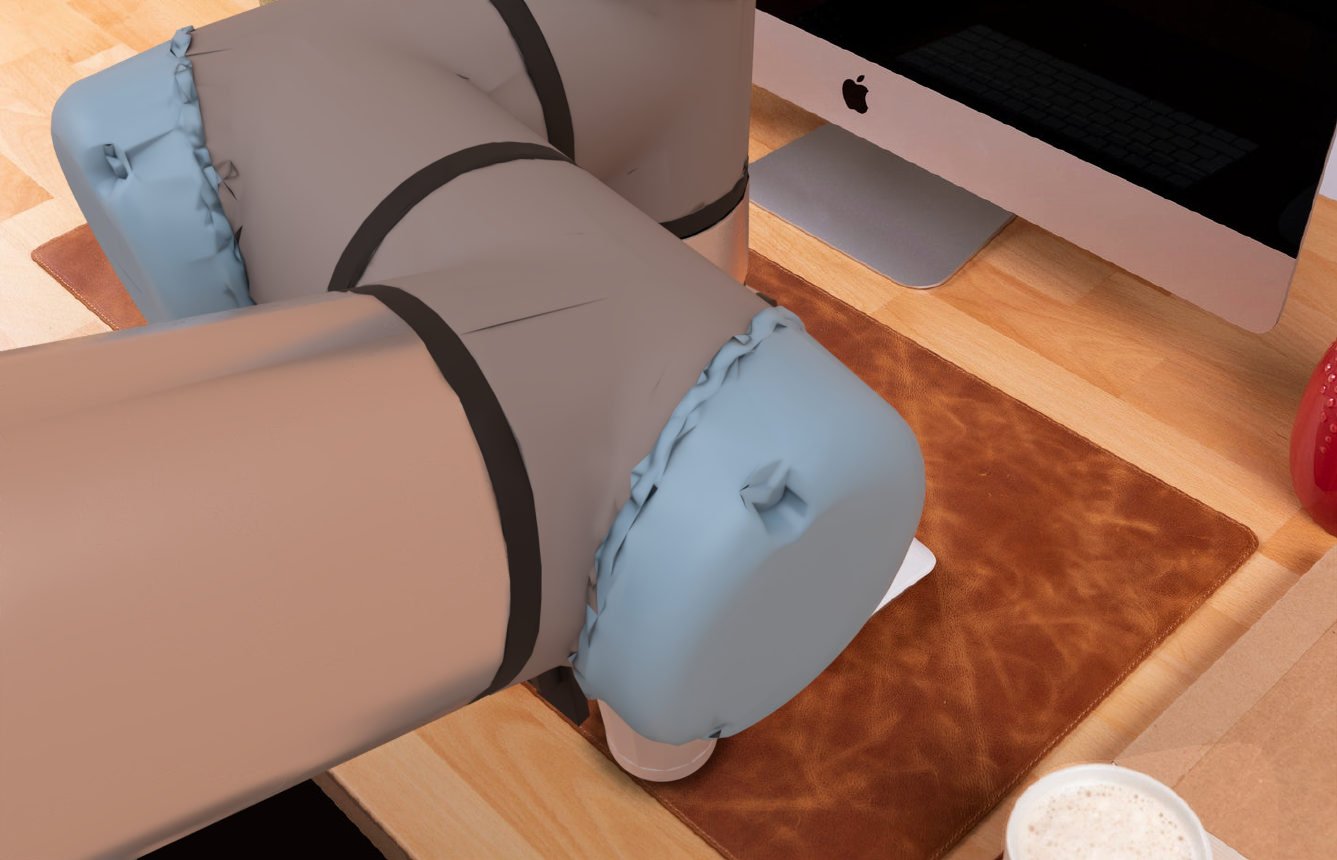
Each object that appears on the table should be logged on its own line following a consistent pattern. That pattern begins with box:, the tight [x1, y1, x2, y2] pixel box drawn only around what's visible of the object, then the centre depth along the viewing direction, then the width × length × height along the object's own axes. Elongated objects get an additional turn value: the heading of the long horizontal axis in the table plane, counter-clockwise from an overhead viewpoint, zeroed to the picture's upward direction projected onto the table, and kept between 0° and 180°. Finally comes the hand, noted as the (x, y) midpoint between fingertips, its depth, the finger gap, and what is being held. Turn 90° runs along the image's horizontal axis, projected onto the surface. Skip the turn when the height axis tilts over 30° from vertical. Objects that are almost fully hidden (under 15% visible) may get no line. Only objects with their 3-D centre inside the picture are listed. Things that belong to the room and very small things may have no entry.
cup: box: [596, 699, 718, 783], centre depth 61 cm, size 8×8×12 cm
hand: (660, 609), depth 57 cm, fingers open, 13 cm apart
